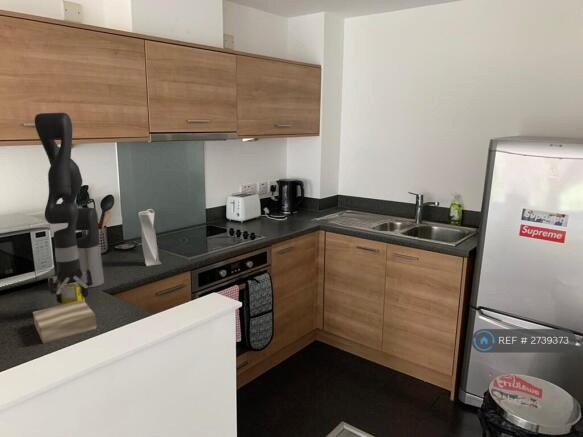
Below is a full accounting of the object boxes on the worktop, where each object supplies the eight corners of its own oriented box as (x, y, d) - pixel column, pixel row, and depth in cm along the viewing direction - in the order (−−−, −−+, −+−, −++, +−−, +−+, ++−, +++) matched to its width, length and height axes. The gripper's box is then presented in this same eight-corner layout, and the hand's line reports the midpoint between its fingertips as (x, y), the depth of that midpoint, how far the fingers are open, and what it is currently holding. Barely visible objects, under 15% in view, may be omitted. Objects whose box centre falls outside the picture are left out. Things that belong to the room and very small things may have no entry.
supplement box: (85, 305, 166) (82, 278, 163) (79, 311, 160) (75, 283, 157) (69, 306, 165) (65, 278, 163) (62, 312, 159) (58, 284, 157)
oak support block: (34, 325, 149) (32, 312, 148) (84, 312, 159) (83, 299, 158) (43, 343, 137) (40, 328, 136) (96, 328, 147) (94, 314, 146)
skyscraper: (162, 265, 211) (157, 208, 205) (144, 268, 208) (139, 210, 201) (158, 260, 219) (154, 206, 212) (142, 263, 215) (136, 207, 209)
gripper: (86, 252, 165) (90, 292, 168) (43, 259, 156) (49, 302, 159) (91, 256, 159) (96, 298, 162) (47, 264, 150) (53, 308, 154)
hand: (73, 300), depth 161 cm, fingers closed on supplement box, 8 cm apart
